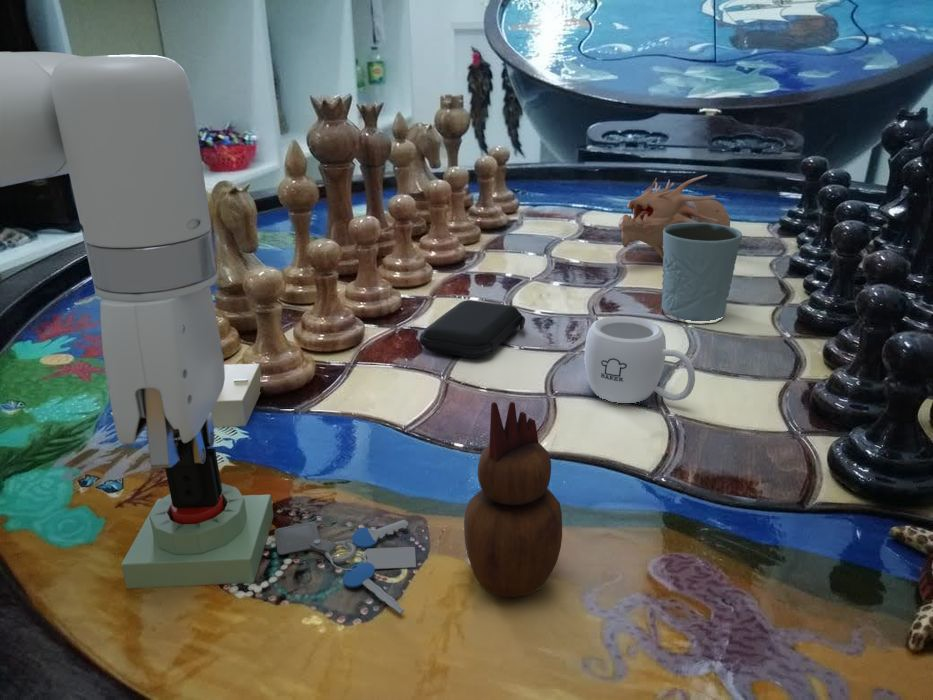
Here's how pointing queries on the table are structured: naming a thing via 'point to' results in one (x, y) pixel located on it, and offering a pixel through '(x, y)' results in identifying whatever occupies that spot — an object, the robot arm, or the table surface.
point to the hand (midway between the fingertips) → (198, 500)
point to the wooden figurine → (513, 510)
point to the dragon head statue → (667, 214)
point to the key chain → (352, 553)
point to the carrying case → (472, 329)
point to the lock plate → (237, 395)
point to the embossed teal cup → (698, 269)
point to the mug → (629, 360)
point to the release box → (200, 545)
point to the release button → (196, 513)
